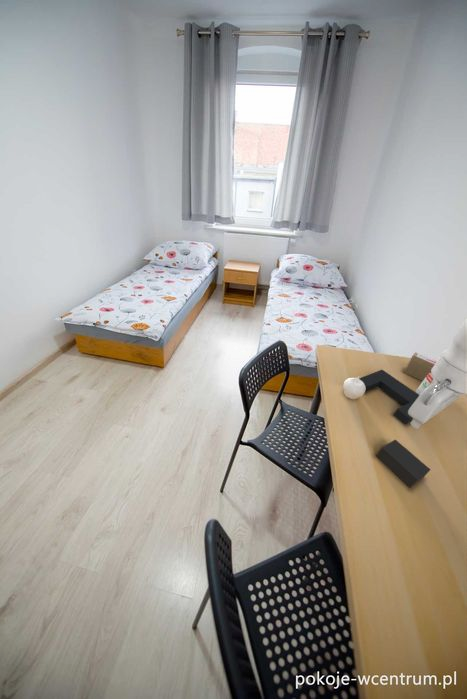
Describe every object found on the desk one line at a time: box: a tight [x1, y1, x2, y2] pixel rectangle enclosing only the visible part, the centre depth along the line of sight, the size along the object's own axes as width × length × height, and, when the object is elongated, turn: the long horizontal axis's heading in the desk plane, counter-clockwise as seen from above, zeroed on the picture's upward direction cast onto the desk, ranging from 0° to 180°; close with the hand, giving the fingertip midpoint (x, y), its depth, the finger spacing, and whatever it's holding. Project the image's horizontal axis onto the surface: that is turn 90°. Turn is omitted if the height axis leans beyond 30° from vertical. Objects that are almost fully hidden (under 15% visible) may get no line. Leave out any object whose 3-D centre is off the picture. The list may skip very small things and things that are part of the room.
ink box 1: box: [403, 352, 437, 382], centre depth 106 cm, size 10×4×8 cm, turn 48°
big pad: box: [359, 369, 419, 426], centre depth 96 cm, size 20×14×3 cm
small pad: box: [375, 439, 431, 489], centre depth 73 cm, size 10×6×4 cm, turn 31°
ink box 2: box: [415, 373, 435, 395], centre depth 94 cm, size 4×8×15 cm, turn 85°
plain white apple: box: [342, 375, 366, 400], centre depth 93 cm, size 7×7×8 cm
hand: (424, 418), depth 66 cm, fingers open, 8 cm apart
